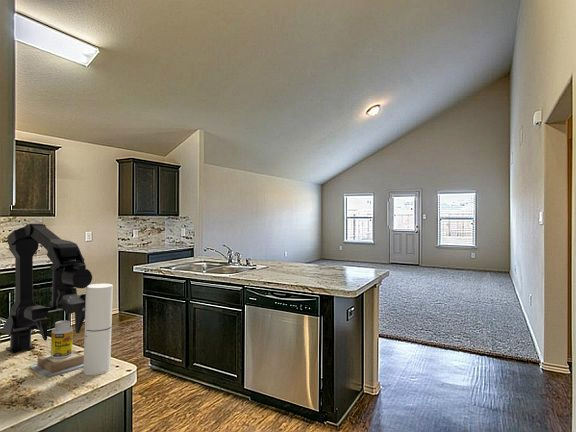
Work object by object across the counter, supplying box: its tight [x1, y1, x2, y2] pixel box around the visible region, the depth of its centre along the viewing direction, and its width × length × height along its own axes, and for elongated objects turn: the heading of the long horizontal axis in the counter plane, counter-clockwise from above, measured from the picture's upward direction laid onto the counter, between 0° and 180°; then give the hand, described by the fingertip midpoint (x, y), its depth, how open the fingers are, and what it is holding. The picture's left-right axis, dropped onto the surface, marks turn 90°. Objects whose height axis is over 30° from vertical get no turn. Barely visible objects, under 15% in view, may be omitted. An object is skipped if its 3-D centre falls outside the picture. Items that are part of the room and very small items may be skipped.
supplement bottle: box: [50, 320, 74, 359], centre depth 115 cm, size 6×6×10 cm
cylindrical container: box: [82, 283, 114, 376], centre depth 113 cm, size 7×7×25 cm
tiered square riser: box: [29, 350, 84, 379], centre depth 115 cm, size 12×12×3 cm
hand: (61, 336), depth 115 cm, fingers open, 9 cm apart
